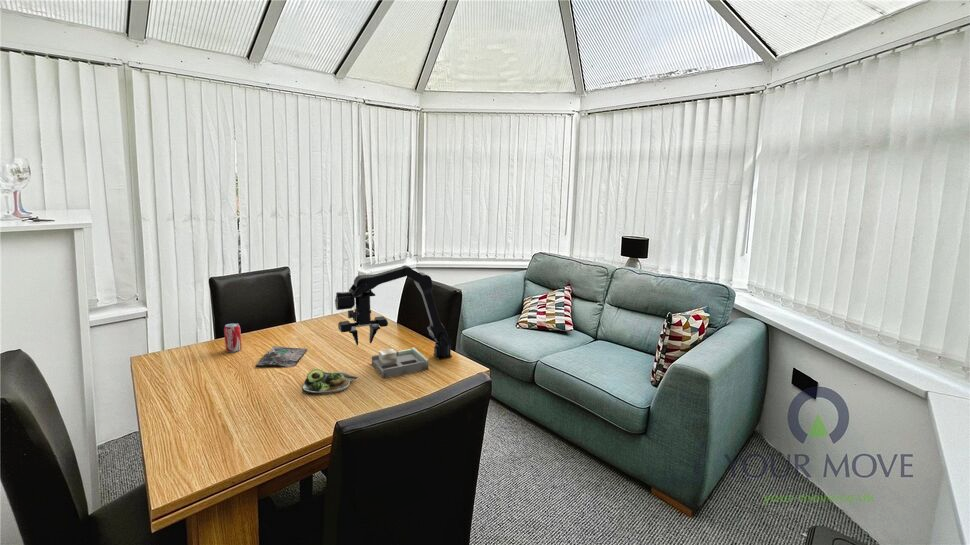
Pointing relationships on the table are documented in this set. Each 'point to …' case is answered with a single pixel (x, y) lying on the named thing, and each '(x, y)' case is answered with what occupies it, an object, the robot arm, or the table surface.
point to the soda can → (232, 337)
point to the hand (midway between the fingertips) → (363, 344)
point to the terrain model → (281, 357)
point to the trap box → (401, 363)
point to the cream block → (387, 356)
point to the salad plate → (325, 382)
